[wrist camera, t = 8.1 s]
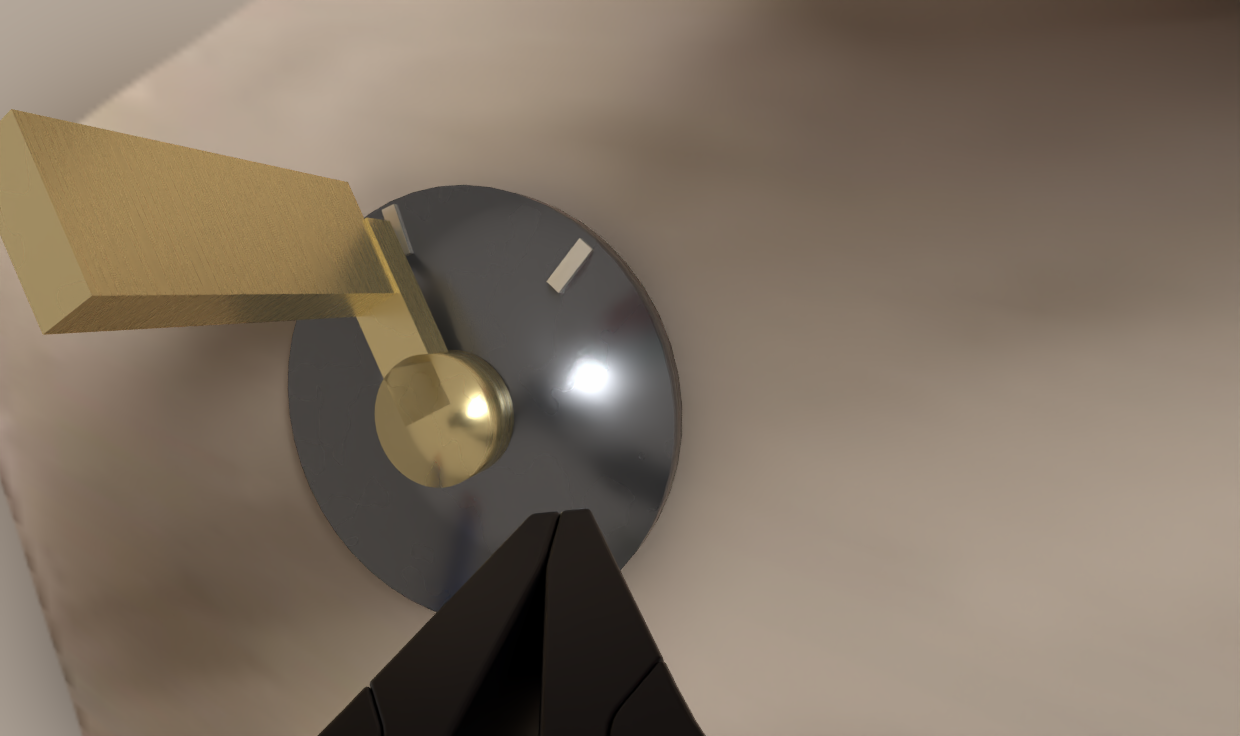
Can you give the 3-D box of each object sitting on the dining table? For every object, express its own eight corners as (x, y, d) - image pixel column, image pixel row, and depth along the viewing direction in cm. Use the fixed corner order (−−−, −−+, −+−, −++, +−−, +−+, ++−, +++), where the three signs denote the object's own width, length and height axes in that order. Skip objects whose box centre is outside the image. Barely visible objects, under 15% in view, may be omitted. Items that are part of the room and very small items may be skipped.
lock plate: (502, 687, 22) (483, 708, 21) (253, 409, 24) (224, 415, 23) (783, 403, 18) (779, 410, 16) (447, 97, 20) (424, 86, 19)
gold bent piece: (534, 448, 19) (271, 584, 10) (435, 492, 20) (130, 645, 12) (408, 169, 19) (47, 70, 11) (319, 232, 21) (-64, 189, 12)
